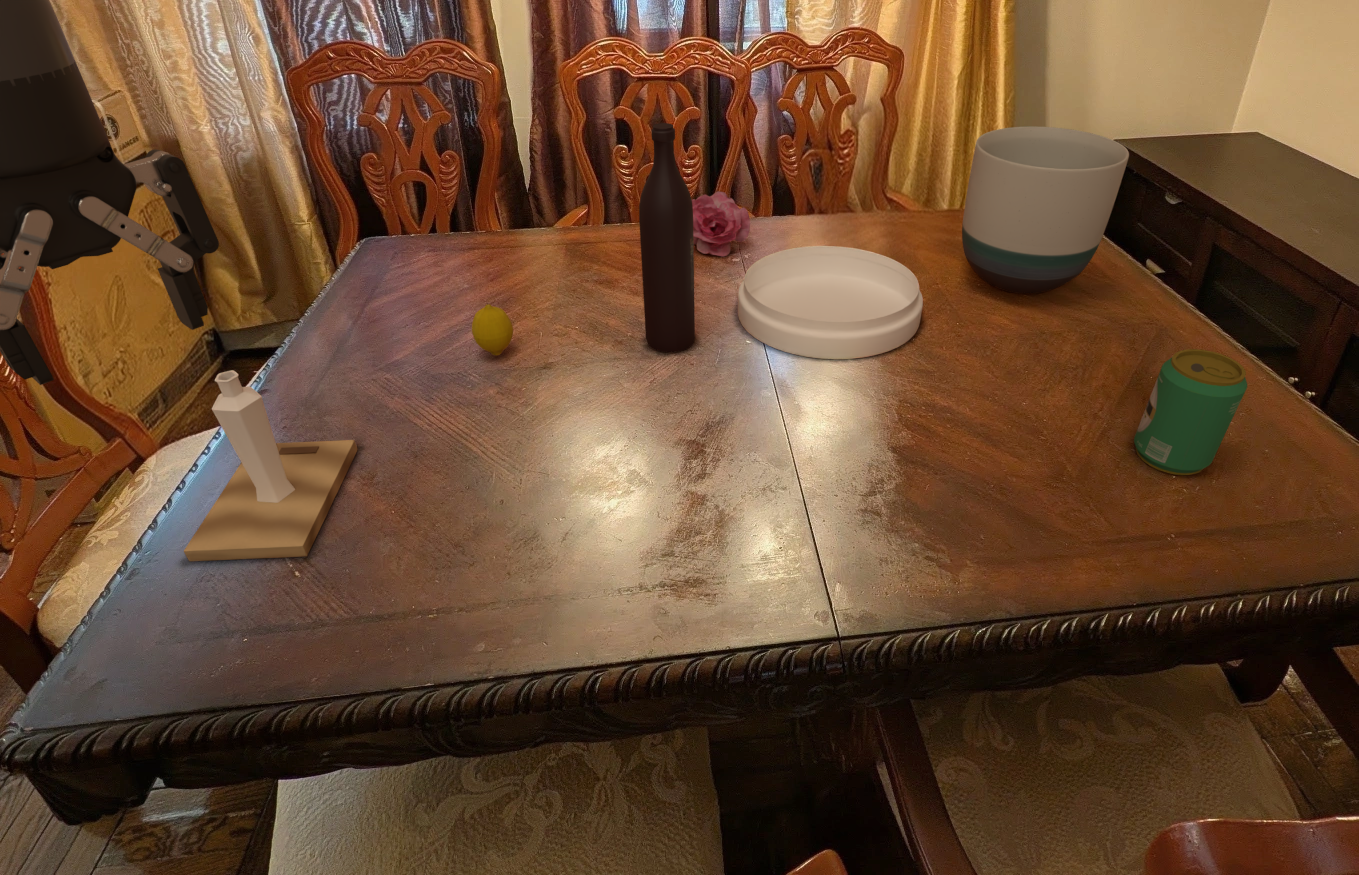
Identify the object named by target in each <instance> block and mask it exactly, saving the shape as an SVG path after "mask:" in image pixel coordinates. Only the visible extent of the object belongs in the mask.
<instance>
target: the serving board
mask: <svg viewBox="0 0 1359 875" xmlns="http://www.w3.org/2000/svg"><path fill="white" fill-rule="evenodd" d="M276 445H277V449H278V452H279V455H280V458H281V462H282V465H283V468H284V471H285V474H286V478H287V479H288V481H289V482H290V483H291V484H292V486H293V487H294V488H295V490H294V491H293V492H292V493H290V494H289V495H288V496H286V497H285V498H284V499H282V500H281V501H280V502H278V503H272V502H259V501H257V494H256V487H255V485H254V484H253V482H252V480H251V478H250V477H249V475H248V473H247V471H246V469H245V468H244V466H243V464H242V462H241V461H240V462H241V463H240V464H239V465H238V467H237V468H236V470H235V472H234V473H233V475H232V476H231V477H230V479H229V481H228V482H227V484H226V485H225V486H224V488H223V490H222V491H221V492H220V495H219V496H218V497H217V499H216V500H215V502H214V503H213V505H212V507H211V508H210V510H209V511H208V513H207V514H206V516H205V517H204V519H203V521H202V522H201V524H200V525H199V527H198V528H197V530H196V532H195V533H194V534H193V535H192V537H191V539H189V540H190V541H189V542H188V543H187V544H186V546H185V547H184V549H183V553H184V555H185V557H186V558H187V560H188V562H208V561H233V560H253V559H277V558H278V559H279V558H299V557H300V558H301V557H308V555H309V553H310V551H311V549H312V547H313V544H314V543H315V540H316V538H317V537H318V534H319V532H320V530H321V528H322V526H323V524H324V522H325V519H326V517H327V515H328V514H329V511H330V509H331V507H332V504H333V503H334V501H335V498H336V497H337V494H338V492H339V490H340V488H341V486H342V484H343V482H344V480H345V477H346V475H347V473H348V471H349V469H350V467H351V465H352V463H353V461H354V459H355V456H356V454H357V452H358V445H357V443H356V440H355V439H344V440H321V441H320V440H319V441H318V440H317V441H316V440H315V441H295V442H291V441H290V442H276Z"/></svg>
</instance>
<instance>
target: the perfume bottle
mask: <svg viewBox="0 0 1359 875" xmlns="http://www.w3.org/2000/svg"><path fill="white" fill-rule="evenodd" d="M214 382H215V383H216V384H217V385H218V388H219V390H220V392H221V393H219V394H218V395H217V397H216V400H215V401H214V403H213V405H212V407H211V410H212V413H213V414H214V416H215V418H216V420H217V422H218V424H219V425H220V427H221V429H222V430H223V432H224V434H225V435H226V437H227V439H228V441H229V443H230V444H231V446H232V448H233V450H234V452H235V453H236V455H237V457H238V459H239V461H240V462H242V464H243V466H244V468H245V469H246V471H247V473H248V475H249V477H250V478H251V480H252V482H253V484H254V485H255V487H256V494H257V501H259V502H272V503H278V502H280V501H281V500H282V499H284V498H285V497H286V496H288V495H289V494H290V493H292V492H293V491H294V490H295V488H294V487H293V486H292V484H291V483H290V482H289V481H288V479H287V478H286V474H285V471H284V468H283V465H282V462H281V458H280V455H279V452H278V449H277V445H276V443H277V442H276V439H275V436H274V433H273V429H272V426H271V422H270V419H269V417H268V413H267V409H266V406H265V404H264V400H263V396H262V395H261V394H260V393H259V392H257V390H255V389H254V388H253V387H251V386H242V383H241V381H240V379H239V373H237V371H235V370H233V369H232V370H227V371H224V372H220V373H218V374H217V375H216V377H215V379H214Z"/></svg>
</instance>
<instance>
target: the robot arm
mask: <svg viewBox="0 0 1359 875" xmlns="http://www.w3.org/2000/svg"><path fill="white" fill-rule="evenodd" d="M73 54H74V53H73V52H72V49H71V47H70V45H69V42H68V40H67V37H66V35H65V32H64V31H63V28H62V25H61V23H60V20H59V18H58V15H57V14H56V12H55V9H54V8H53V6H52V3H51V1H50V0H0V354H1V356H2V357H3V359H4V361H5V362H6V364H7V366H8V367H9V368H10V369H11V370H12V371H13V372H14V373H15V374H16V375H18V376H19V377H20V378H22V379H23V380H25V381H26V380H28V379H31V378H32V379H33V380H34V381H35V382H36V383H37V384H38V385H39V386H42V385H44V384H47V383H50V382H52V381H55V379H54V376H53V374H52V373H51V371H50V369H49V367H48V365H47V363H46V362H45V359H44V358H43V355H42V354H41V353H40V351H39V349H38V347H37V346H36V343H35V342H34V340H33V337H32V335H30V333H29V330H28V329H27V327H26V325H25V324H24V323H22V322H21V320H19V319H18V315H19V312H20V309H21V305H22V303H23V300H24V297H25V294H26V293H28V292H29V291H30V289H31V286H32V284H33V280H34V278H35V275H36V271H37V269H38V267H41V268H49V269H51V270H55V269H58V268H62V267H66V266H69V265H70V264H72V263H73V262H74V263H75V261H77V260H79V259H80V258H81V259H82V258H87V257H88V258H89V257H100V256H103V255H107V254H111V253H113V252H114V251H113V248H115V247H116V246H117V245H118V244H119V243H120V242H121V240H124V241H125V242H127V243H129V244H131V245H132V246H134V247H136V248H137V249H139V250H141V251H142V252H144V253H146V254H148V255H150V256H151V257H153V258H154V259H156V260H158V261H159V263H160V265H161V267H157V271H158V274H159V276H160V279H161V281H162V283H163V285H164V287H165V290H166V292H167V295H168V297H169V299H170V302H171V304H172V307H173V309H174V311H175V314H176V316H177V318H178V319H179V321H180V322H181V324H182V325H184V326H186V327H187V328H188V329H190V330H191V331H194V330H196V329H199V328H202V327H204V326H205V322H204V321H203V317H206V316H208V314H209V313H208V312H209V306H208V303H207V302H206V301H207V300H206V298H205V296H204V293H203V291H202V288H201V286H200V283H199V281H198V278H197V275H196V274H195V269H194V268H195V264H196V262H198V260H199V259H201V258H202V257H204V256H205V255H206V254H213V253H215V252H217V250H218V249H219V247H220V242H219V239H218V236H217V234H216V232H215V230H214V228H213V225H212V224H211V220H210V218H209V217H208V214H207V212H206V210H205V207H204V205H203V203H202V200H201V198H200V196H199V193H198V192H197V189H196V187H195V184H194V182H193V180H192V178H191V176H190V175H191V174H190V173H189V170H188V168H187V166H186V163H185V162H184V161H183V160H182V159H181V158H179V157H177V156H175V155H173V154H171V153H169V152H166V151H163V150H161V149H156V148H155V149H151V150H149V151H148V152H147V153H146V154H145V157H144V158H140V159H137V160H133V161H130V162H127V163H123V162H122V161H121V160H120V159H119V158H118V157H117V155H116V154H115V151H114V150H113V146H112V145H111V142H110V140H109V138H108V136H107V133H106V131H105V128H104V126H103V123H102V121H101V118H100V116H99V114H98V111H97V109H96V106H95V104H94V102H93V99H92V97H91V94H90V92H89V89H88V88H87V85H86V83H85V80H84V78H83V76H82V74H81V71H80V68H79V66H78V64H77V61H76V59H75V57H74V55H73ZM137 184H143V185H144V186H145V187H146V189H147V190H148V191H149V192H151V193H153V194H154V195H158V196H160V197H162V199H163V201H164V203H165V205H166V208H167V209H168V212H169V214H170V216H171V218H172V221H173V222H174V224H175V226H176V229H177V230H178V233H179V235H178V236H176V237H175V238H173V239H172V240H171V241H167V240H166V239H165V238H163V237H161V236H160V235H158V234H156V233H155V232H153V231H152V230H150V229H148V228H146V227H145V226H144V225H142V224H140V223H138V222H136V221H135V220H134V219H132V218H130V217H129V215H130V212H131V208H132V204H133V201H134V199H135V195H136V192H137V186H138V185H137Z"/></svg>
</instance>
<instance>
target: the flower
mask: <svg viewBox="0 0 1359 875" xmlns="http://www.w3.org/2000/svg"><path fill="white" fill-rule="evenodd" d="M691 200H692V206H693V236H694V245H696V250H697V251H698V252H700V253H701V254H705V255H706V254H709V255H712V256H718V257H727V256H728V255H729V254H730V253H731V250H732V249H731V242H732V241H735V242H738V243H742V242H745V241H747V238H748V237H749V235H750V232H751V217H750V214H749V211H748V209H747V208H746V207H741V208H740V207H739V206H738V205H737V204H736V202H735V200H734V199H733V198H732V197H729V196H728V194H726V192H724V191H719V190H717V191H716V192H714V193H713V194H711V195H710V196H709V195H708V194H706V193H705V194H701V195H700V196H698V197H697V198H696V199H695V198H692V199H691Z"/></svg>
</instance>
